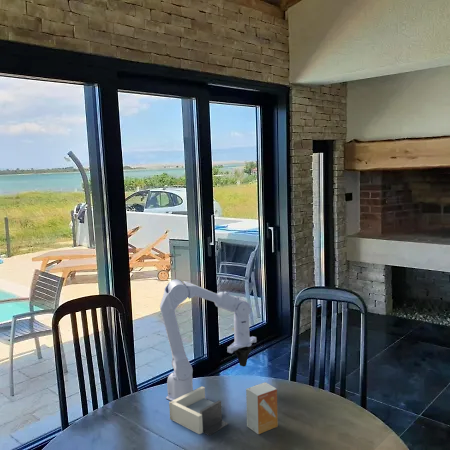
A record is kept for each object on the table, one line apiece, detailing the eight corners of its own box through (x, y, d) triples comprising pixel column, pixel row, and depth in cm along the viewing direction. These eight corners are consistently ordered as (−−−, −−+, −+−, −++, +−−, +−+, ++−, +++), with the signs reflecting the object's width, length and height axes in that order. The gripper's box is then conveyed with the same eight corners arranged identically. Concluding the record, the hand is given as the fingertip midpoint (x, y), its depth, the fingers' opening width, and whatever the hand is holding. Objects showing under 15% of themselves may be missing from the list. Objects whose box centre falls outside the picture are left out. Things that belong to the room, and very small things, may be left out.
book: (178, 419, 158) (178, 411, 158) (204, 406, 166) (204, 398, 166) (196, 429, 152) (195, 420, 151) (222, 414, 160) (221, 406, 160)
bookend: (200, 431, 149) (199, 410, 148) (219, 420, 155) (218, 400, 155) (209, 435, 146) (208, 414, 146) (228, 424, 153) (227, 404, 152)
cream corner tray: (170, 419, 157) (169, 402, 157) (202, 402, 168) (201, 386, 168) (199, 434, 147) (198, 416, 147) (232, 415, 158) (231, 398, 158)
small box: (258, 435, 146) (257, 395, 144) (246, 426, 151) (245, 388, 150) (278, 426, 150) (277, 388, 149) (266, 418, 155) (265, 381, 154)
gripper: (236, 338, 167) (238, 374, 168) (262, 327, 177) (263, 362, 179) (222, 334, 171) (224, 369, 173) (248, 324, 182) (249, 357, 183)
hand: (242, 365), depth 176 cm, fingers closed
